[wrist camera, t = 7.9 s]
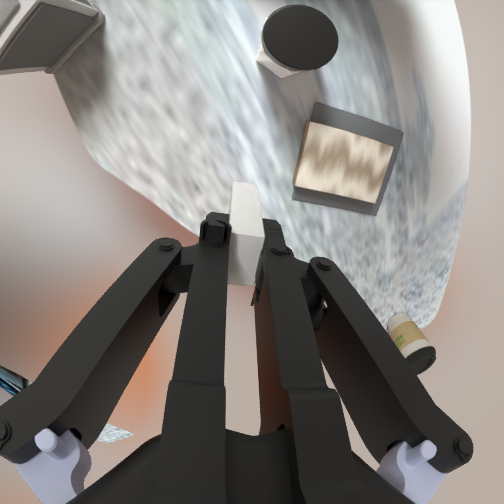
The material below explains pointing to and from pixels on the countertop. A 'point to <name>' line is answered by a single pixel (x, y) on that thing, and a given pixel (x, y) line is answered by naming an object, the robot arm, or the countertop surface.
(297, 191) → the mat
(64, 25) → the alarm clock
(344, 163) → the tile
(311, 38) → the jar
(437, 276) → the countertop surface
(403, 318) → the coffee cup
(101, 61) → the countertop surface
